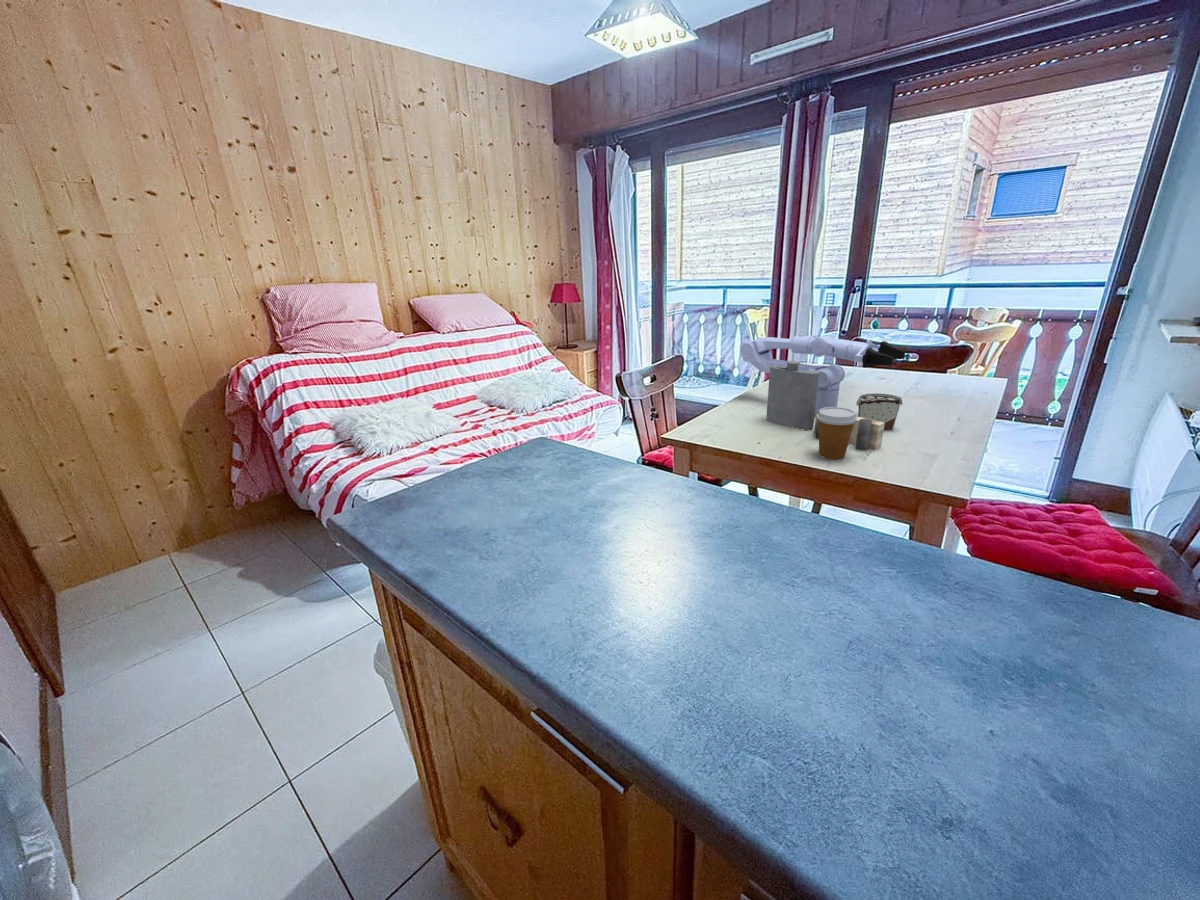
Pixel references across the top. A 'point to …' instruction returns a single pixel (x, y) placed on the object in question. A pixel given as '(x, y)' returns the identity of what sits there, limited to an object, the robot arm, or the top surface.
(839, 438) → the disposable coffee cup
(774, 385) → the hip flask
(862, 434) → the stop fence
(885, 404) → the food container
